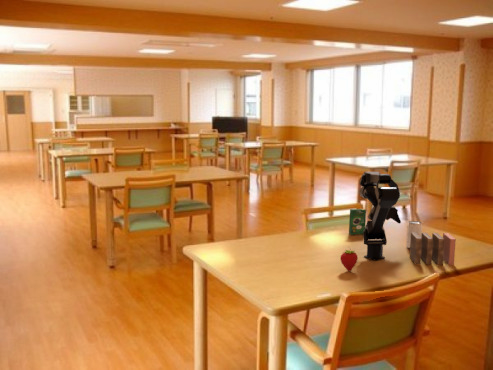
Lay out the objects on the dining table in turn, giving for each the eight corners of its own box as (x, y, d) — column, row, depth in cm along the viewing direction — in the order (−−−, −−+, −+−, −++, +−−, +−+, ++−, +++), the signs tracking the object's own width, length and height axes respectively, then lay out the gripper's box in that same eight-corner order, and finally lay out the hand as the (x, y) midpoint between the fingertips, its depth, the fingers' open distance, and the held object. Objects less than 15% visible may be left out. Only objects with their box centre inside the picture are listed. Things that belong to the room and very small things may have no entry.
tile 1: (415, 264, 207) (416, 238, 205) (409, 257, 217) (410, 232, 215) (420, 264, 207) (421, 238, 205) (414, 257, 216) (415, 232, 215)
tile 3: (437, 264, 206) (439, 238, 204) (431, 257, 216) (432, 232, 214) (442, 264, 206) (444, 239, 204) (435, 257, 216) (437, 232, 214)
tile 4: (449, 265, 206) (450, 239, 204) (441, 257, 215) (443, 232, 214) (453, 265, 205) (455, 239, 204) (446, 257, 215) (448, 233, 214)
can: (418, 250, 226) (419, 224, 224) (404, 247, 230) (405, 222, 228) (422, 247, 231) (424, 221, 229) (409, 244, 235) (410, 220, 233)
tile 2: (426, 264, 206) (428, 238, 205) (420, 257, 216) (421, 232, 214) (431, 264, 206) (433, 238, 204) (425, 257, 216) (426, 232, 214)
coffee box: (363, 233, 257) (363, 208, 255) (365, 234, 254) (366, 209, 252) (348, 234, 255) (349, 208, 253) (350, 235, 253) (351, 210, 251)
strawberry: (336, 271, 198) (336, 246, 197) (350, 267, 203) (350, 243, 201) (347, 275, 194) (347, 250, 192) (361, 271, 198) (361, 246, 196)
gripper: (359, 206, 231) (382, 229, 232) (365, 214, 213) (390, 240, 213) (377, 189, 229) (400, 213, 230) (384, 197, 211) (410, 223, 211)
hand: (400, 222), depth 221 cm, fingers closed
